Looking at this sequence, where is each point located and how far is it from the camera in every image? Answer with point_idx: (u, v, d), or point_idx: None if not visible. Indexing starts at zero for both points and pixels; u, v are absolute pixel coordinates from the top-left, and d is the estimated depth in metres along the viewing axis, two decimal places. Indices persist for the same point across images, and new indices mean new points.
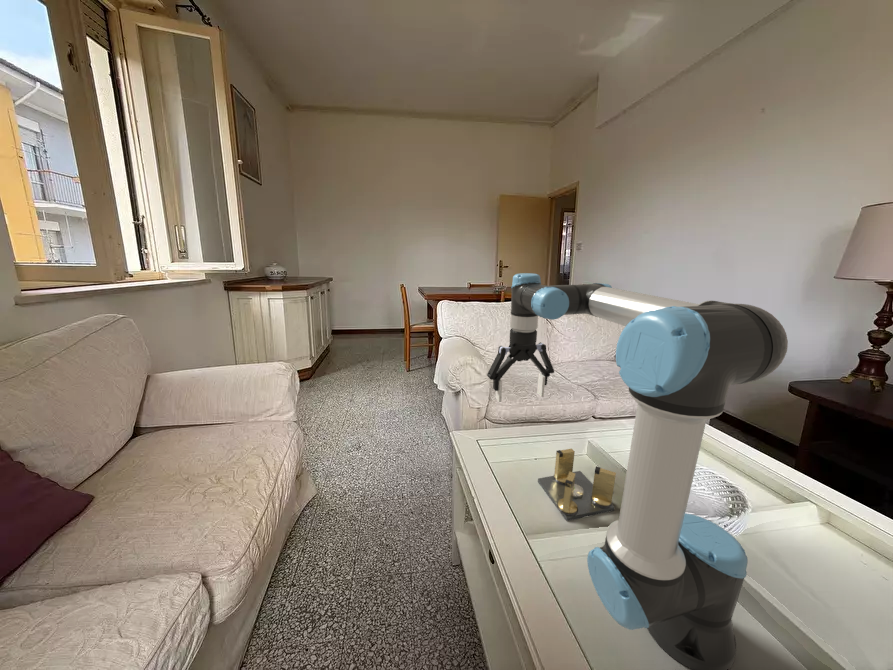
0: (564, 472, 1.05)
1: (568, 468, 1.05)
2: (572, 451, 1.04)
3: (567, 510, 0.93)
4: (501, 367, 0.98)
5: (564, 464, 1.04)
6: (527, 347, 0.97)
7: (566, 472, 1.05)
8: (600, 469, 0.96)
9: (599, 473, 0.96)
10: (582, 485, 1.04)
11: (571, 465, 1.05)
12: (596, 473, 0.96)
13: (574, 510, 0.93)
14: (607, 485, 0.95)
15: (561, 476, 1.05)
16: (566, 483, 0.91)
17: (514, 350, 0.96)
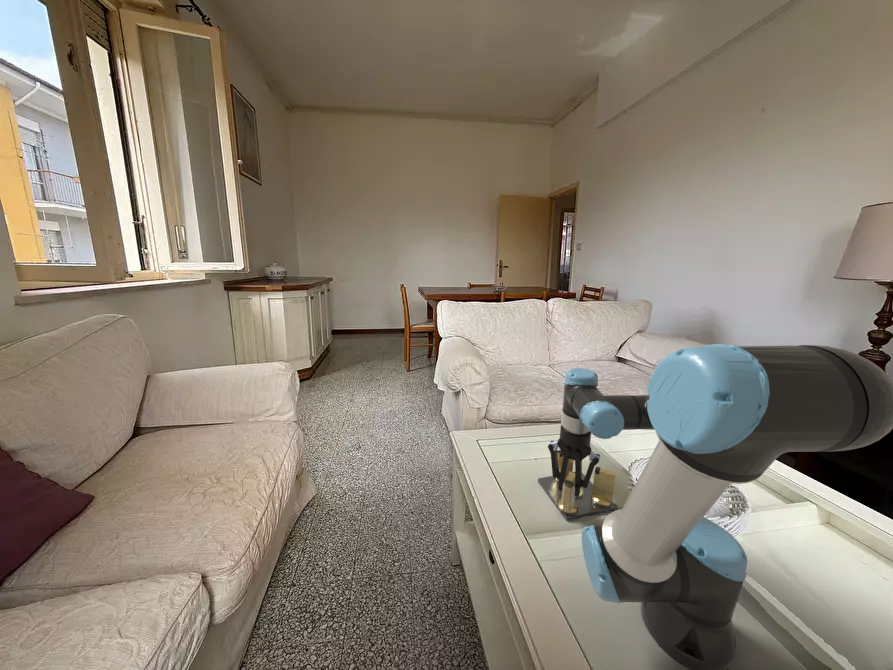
0: None
1: (568, 468, 1.05)
2: None
3: (567, 510, 0.93)
4: None
5: None
6: None
7: (566, 472, 1.05)
8: (600, 469, 0.96)
9: (599, 473, 0.96)
10: None
11: (571, 465, 1.05)
12: (596, 473, 0.96)
13: (574, 510, 0.93)
14: (607, 485, 0.95)
15: None
16: (566, 483, 0.91)
17: (561, 445, 0.91)
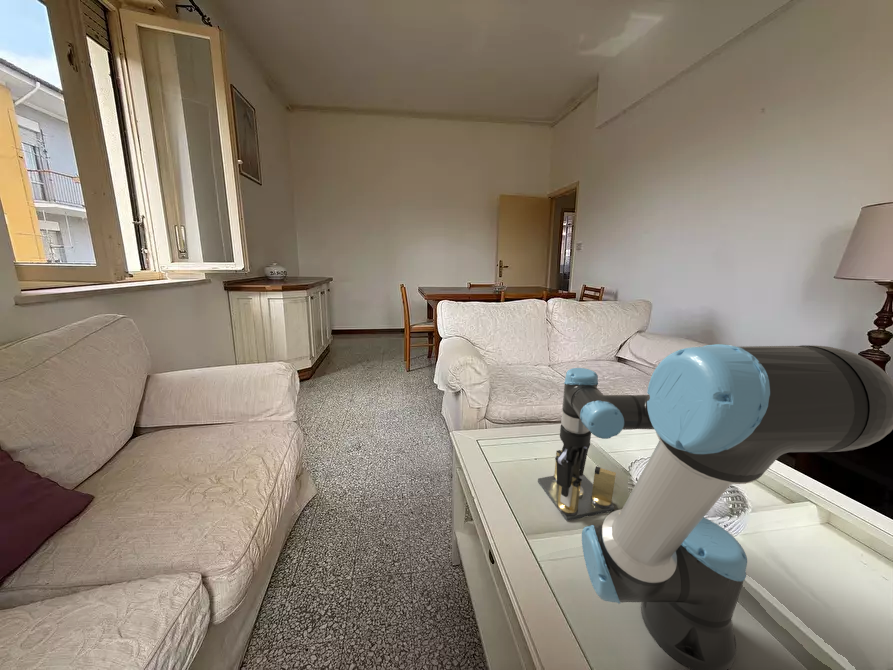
0: None
1: None
2: None
3: (577, 508, 0.93)
4: None
5: None
6: None
7: None
8: (600, 469, 0.96)
9: (599, 473, 0.96)
10: (582, 485, 1.04)
11: None
12: (596, 473, 0.96)
13: None
14: (607, 485, 0.95)
15: None
16: (578, 484, 0.90)
17: (571, 452, 0.87)
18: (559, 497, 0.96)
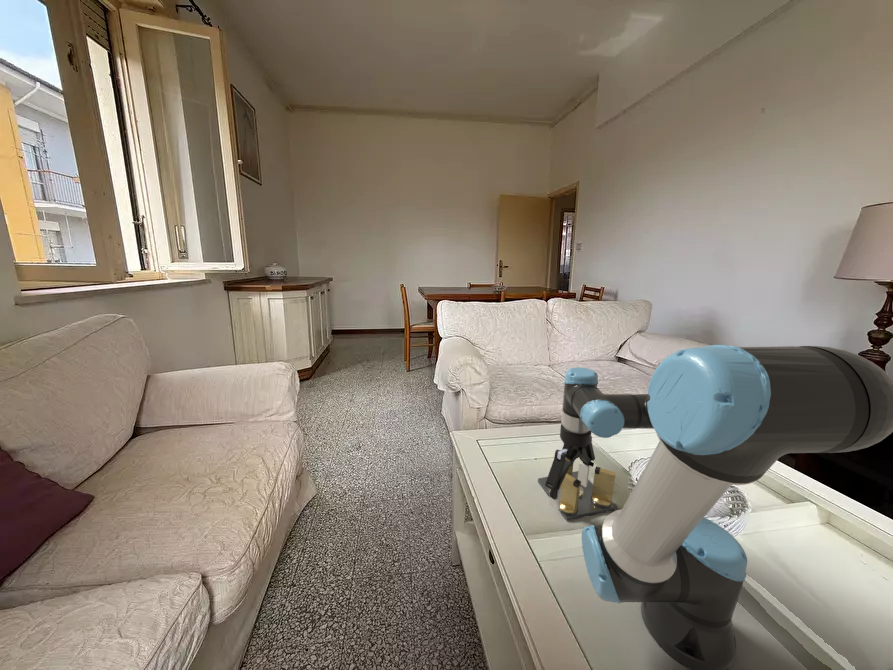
0: None
1: None
2: None
3: (577, 508, 0.93)
4: None
5: None
6: None
7: None
8: (600, 469, 0.96)
9: (599, 473, 0.96)
10: (582, 485, 1.04)
11: None
12: (596, 473, 0.96)
13: None
14: (607, 485, 0.95)
15: None
16: (578, 484, 0.90)
17: (571, 452, 0.87)
18: None
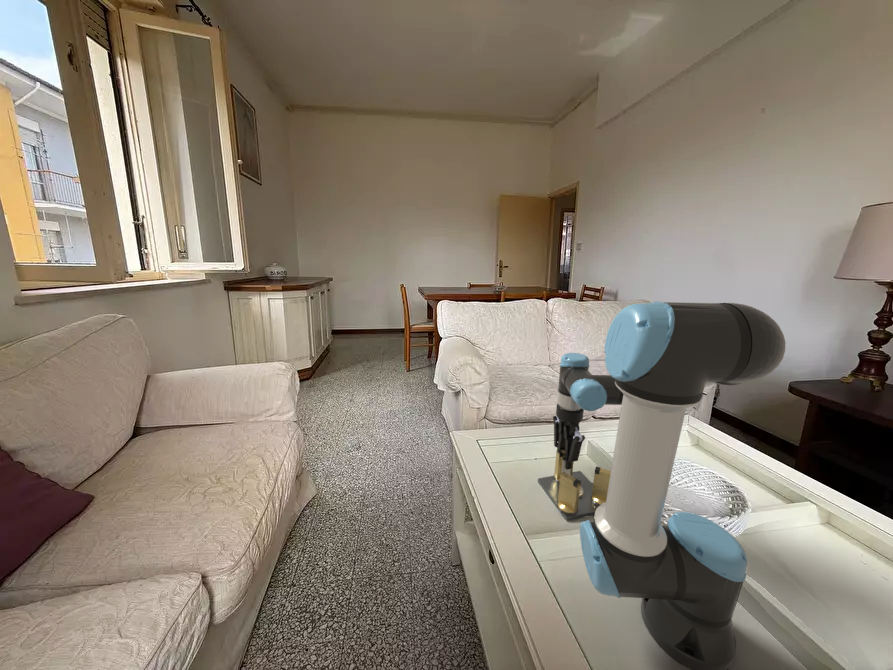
0: None
1: None
2: None
3: (577, 508, 0.93)
4: None
5: None
6: None
7: None
8: (600, 469, 0.96)
9: (599, 473, 0.96)
10: (582, 485, 1.04)
11: None
12: (596, 473, 0.96)
13: None
14: (607, 485, 0.95)
15: None
16: (578, 484, 0.90)
17: None
18: (559, 497, 0.96)
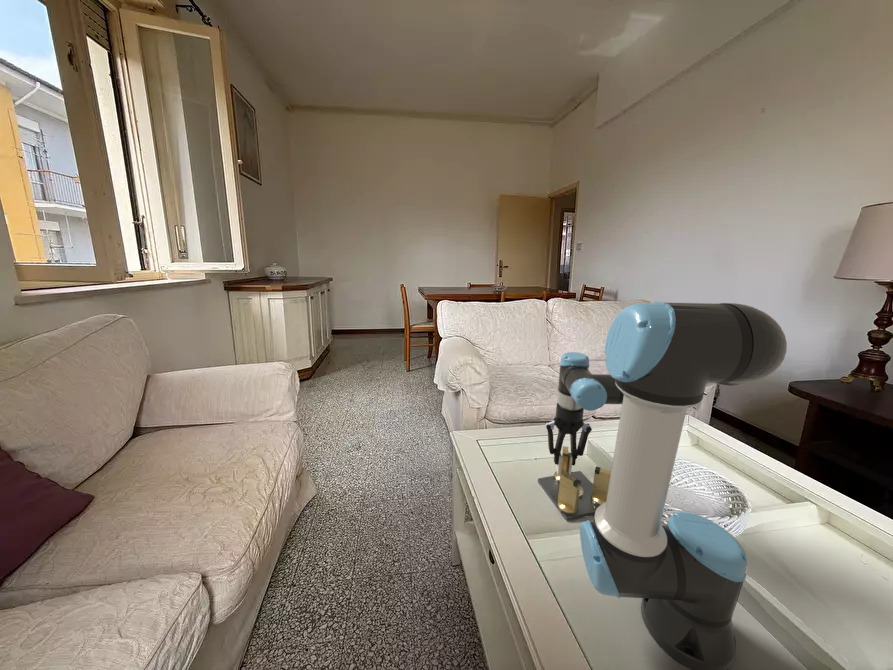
0: None
1: None
2: (567, 448, 1.06)
3: (577, 508, 0.93)
4: (557, 442, 1.04)
5: None
6: None
7: None
8: (600, 469, 0.96)
9: (599, 473, 0.96)
10: (582, 485, 1.04)
11: None
12: (596, 473, 0.96)
13: None
14: (607, 485, 0.95)
15: None
16: (578, 484, 0.90)
17: (559, 423, 1.01)
18: (559, 497, 0.96)
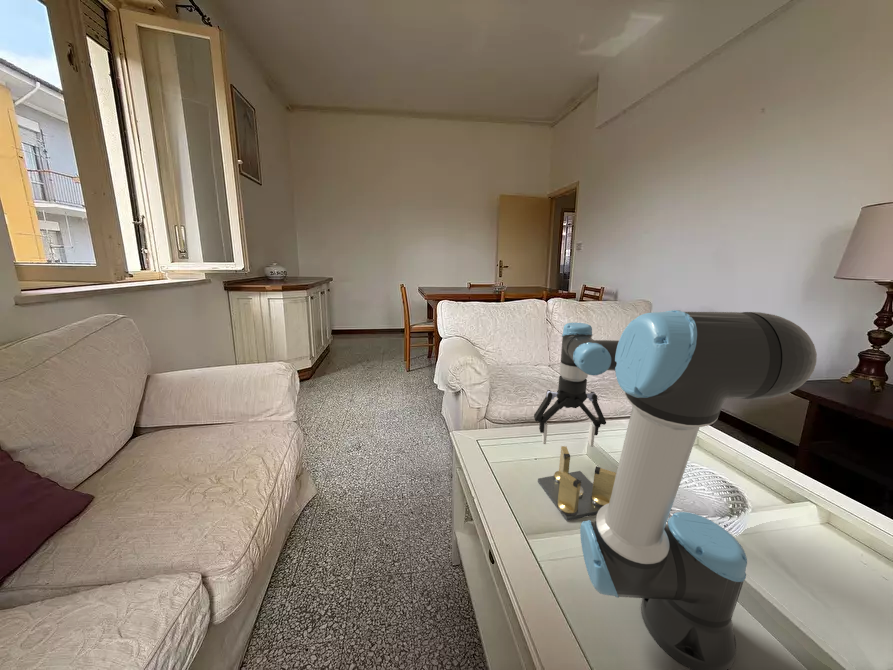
0: None
1: None
2: (565, 447, 1.06)
3: (577, 508, 0.93)
4: (548, 411, 1.01)
5: None
6: (576, 395, 0.98)
7: None
8: (600, 469, 0.96)
9: (599, 473, 0.96)
10: (582, 485, 1.04)
11: None
12: (596, 473, 0.96)
13: None
14: (607, 485, 0.95)
15: None
16: (578, 484, 0.90)
17: (561, 396, 0.98)
18: (559, 497, 0.96)
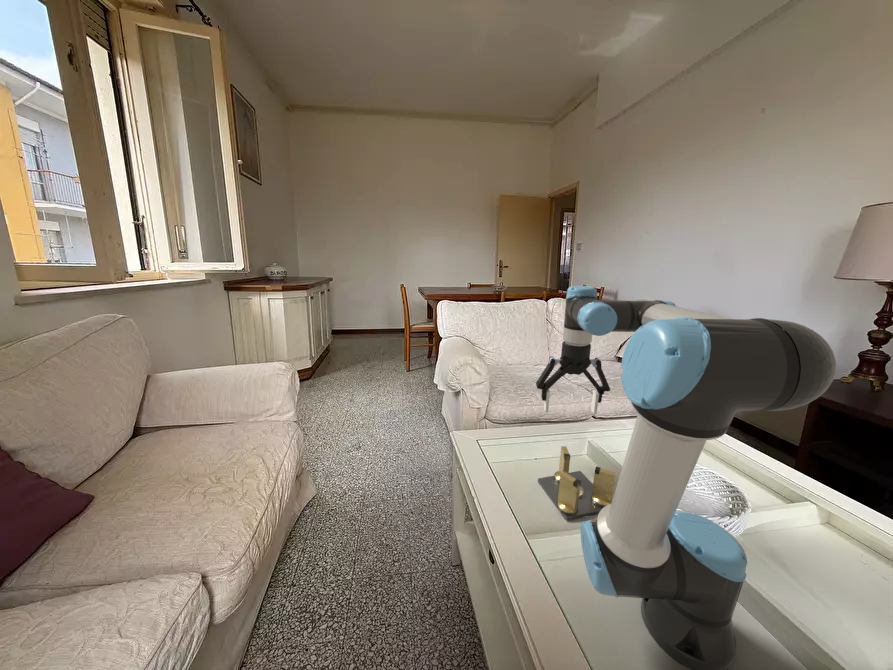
0: None
1: None
2: (565, 447, 1.06)
3: (577, 508, 0.93)
4: (550, 378, 0.99)
5: None
6: (579, 361, 0.95)
7: None
8: (600, 469, 0.96)
9: (599, 473, 0.96)
10: (582, 485, 1.04)
11: None
12: (596, 473, 0.96)
13: None
14: (607, 485, 0.95)
15: None
16: (578, 484, 0.90)
17: (564, 362, 0.96)
18: (559, 497, 0.96)
